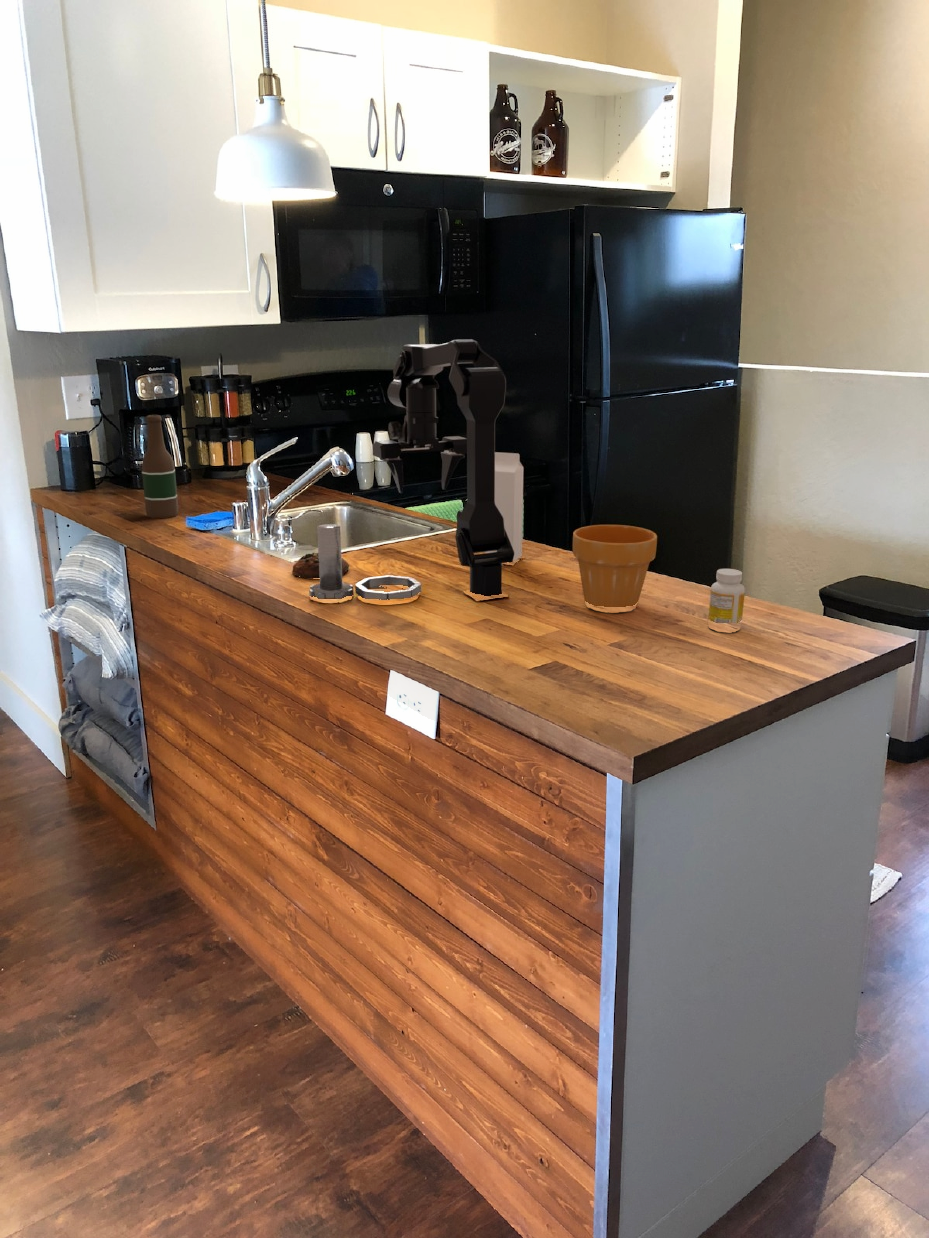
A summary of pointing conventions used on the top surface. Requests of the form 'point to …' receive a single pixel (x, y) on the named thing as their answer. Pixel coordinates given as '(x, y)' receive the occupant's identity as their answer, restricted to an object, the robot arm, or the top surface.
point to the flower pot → (613, 562)
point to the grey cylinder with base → (330, 565)
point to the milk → (510, 497)
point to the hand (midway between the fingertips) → (422, 491)
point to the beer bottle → (158, 474)
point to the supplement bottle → (727, 597)
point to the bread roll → (312, 566)
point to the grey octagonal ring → (375, 582)
